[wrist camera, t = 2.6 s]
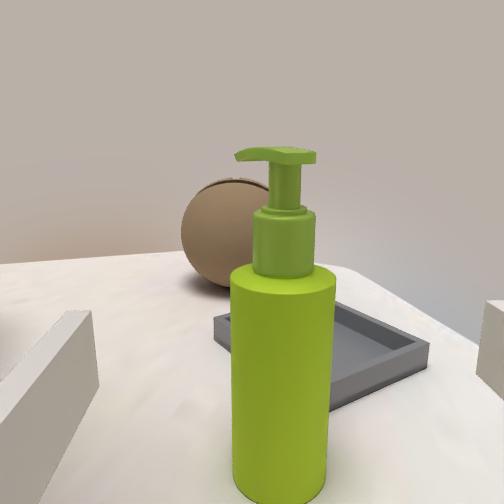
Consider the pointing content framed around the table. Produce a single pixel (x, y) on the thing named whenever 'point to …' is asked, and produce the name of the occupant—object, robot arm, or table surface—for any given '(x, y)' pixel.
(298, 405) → the soap dispenser
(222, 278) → the tan ball
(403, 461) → the table surface
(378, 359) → the tray
